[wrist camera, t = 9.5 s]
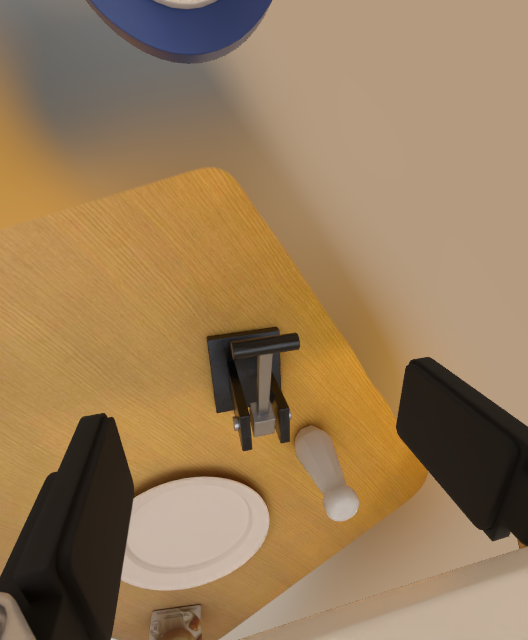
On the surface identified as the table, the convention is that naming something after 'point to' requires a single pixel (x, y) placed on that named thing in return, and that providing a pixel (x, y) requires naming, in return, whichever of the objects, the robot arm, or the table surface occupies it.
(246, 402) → the bracket
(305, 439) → the salt shaker
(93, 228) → the table surface
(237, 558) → the plate
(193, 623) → the coffee box
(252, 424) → the lever
